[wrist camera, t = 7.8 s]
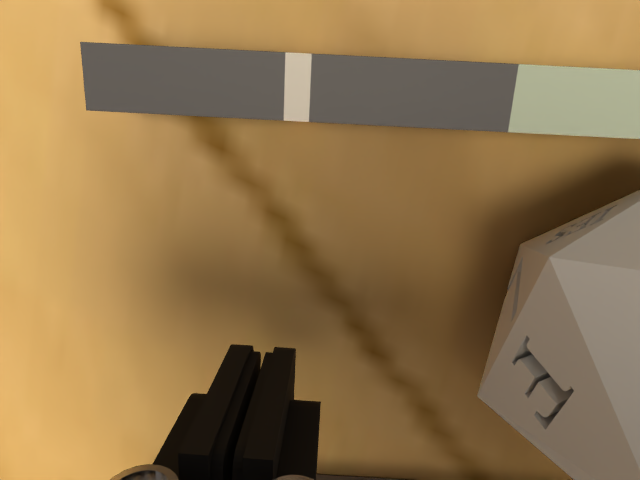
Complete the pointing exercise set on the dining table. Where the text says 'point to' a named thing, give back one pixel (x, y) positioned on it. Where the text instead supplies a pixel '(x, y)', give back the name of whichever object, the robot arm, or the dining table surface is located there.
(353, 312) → the dining table surface
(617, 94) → the trap lane
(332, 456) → the dining table surface
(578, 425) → the die
